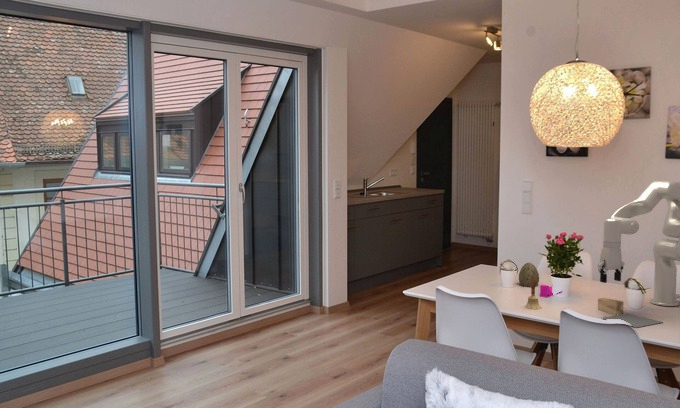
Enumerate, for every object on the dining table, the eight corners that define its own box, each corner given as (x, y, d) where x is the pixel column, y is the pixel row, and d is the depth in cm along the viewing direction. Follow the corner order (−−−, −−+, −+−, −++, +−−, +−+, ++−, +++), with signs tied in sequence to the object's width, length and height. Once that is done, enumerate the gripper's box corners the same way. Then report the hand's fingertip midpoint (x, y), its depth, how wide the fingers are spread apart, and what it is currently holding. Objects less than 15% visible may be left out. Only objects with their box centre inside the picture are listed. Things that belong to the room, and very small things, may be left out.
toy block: (551, 294, 329) (551, 280, 328) (562, 296, 324) (562, 282, 323) (535, 298, 319) (536, 284, 319) (546, 300, 314) (546, 286, 314)
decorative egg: (526, 286, 348) (526, 260, 347) (542, 289, 339) (543, 262, 338) (514, 289, 341) (514, 262, 340) (531, 292, 333) (531, 265, 332)
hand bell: (525, 310, 294) (526, 277, 292) (522, 306, 302) (523, 274, 301) (543, 310, 292) (544, 277, 291) (540, 306, 301) (540, 274, 300)
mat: (627, 313, 285) (627, 313, 285) (663, 322, 270) (663, 321, 270) (600, 318, 277) (600, 317, 277) (636, 328, 261) (636, 327, 261)
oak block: (604, 309, 295) (605, 297, 294) (623, 314, 286) (623, 301, 285) (597, 310, 292) (597, 298, 292) (615, 315, 283) (616, 302, 283)
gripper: (617, 243, 294) (615, 278, 295) (592, 245, 286) (590, 281, 287) (631, 245, 287) (629, 281, 288) (606, 247, 279) (604, 284, 280)
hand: (610, 281), depth 288 cm, fingers open, 9 cm apart
